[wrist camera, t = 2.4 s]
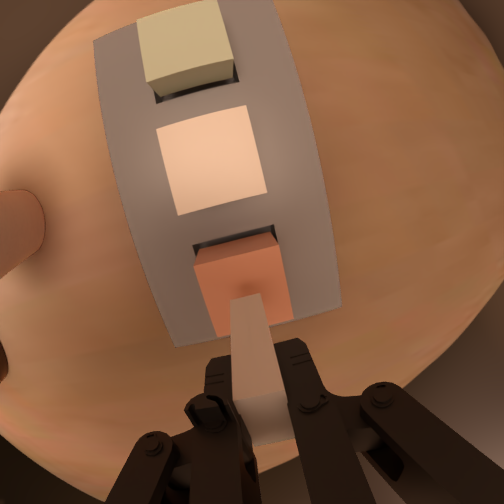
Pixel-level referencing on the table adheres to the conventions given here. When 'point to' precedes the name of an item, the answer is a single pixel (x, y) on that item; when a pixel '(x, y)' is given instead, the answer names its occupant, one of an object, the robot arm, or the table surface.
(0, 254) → the coffee cup
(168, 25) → the sage key
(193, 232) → the keypad board
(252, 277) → the terracotta key
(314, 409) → the robot arm
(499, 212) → the table surface
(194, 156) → the ivory key
